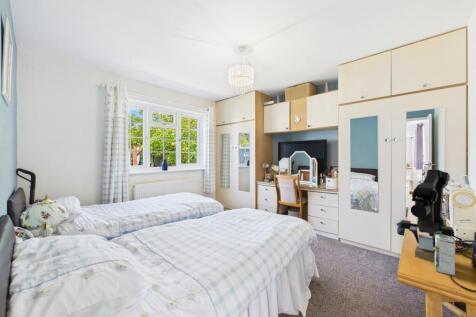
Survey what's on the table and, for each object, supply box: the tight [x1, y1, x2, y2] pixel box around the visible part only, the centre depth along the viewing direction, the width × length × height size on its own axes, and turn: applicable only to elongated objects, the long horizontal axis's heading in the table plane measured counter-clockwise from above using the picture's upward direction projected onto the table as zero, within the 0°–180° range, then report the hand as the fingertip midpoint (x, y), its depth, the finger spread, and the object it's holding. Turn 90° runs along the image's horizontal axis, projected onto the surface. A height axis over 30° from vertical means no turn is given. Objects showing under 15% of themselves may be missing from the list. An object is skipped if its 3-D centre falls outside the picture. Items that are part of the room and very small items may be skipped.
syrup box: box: [434, 234, 456, 276], centre depth 88 cm, size 6×6×14 cm
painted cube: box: [418, 233, 434, 251], centre depth 99 cm, size 5×5×5 cm
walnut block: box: [414, 244, 435, 263], centre depth 100 cm, size 7×7×4 cm
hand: (425, 245), depth 99 cm, fingers closed on painted cube, 5 cm apart
